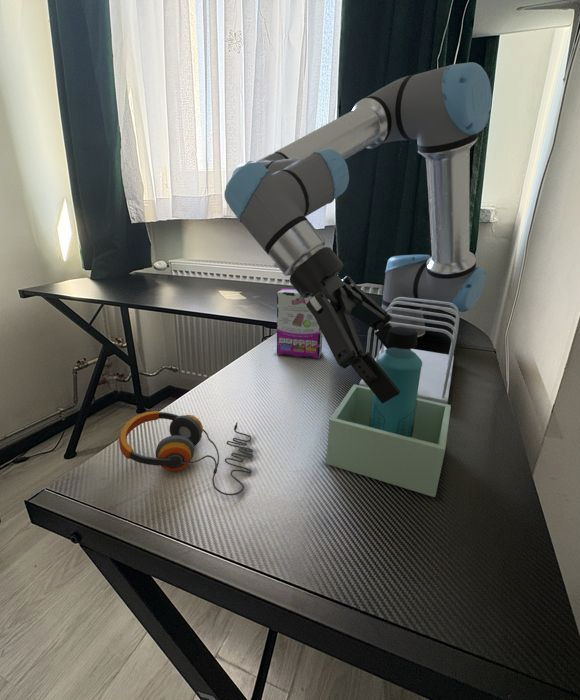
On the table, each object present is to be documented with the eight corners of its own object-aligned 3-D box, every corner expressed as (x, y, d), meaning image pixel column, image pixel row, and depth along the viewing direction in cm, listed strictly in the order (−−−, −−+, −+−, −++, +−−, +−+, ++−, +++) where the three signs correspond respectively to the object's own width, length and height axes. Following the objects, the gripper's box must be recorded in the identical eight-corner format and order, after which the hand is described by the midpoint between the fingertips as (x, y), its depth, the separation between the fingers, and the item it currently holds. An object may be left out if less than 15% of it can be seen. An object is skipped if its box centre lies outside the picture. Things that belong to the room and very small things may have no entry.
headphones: (250, 483, 49) (95, 448, 47) (242, 514, 50) (93, 481, 49) (263, 415, 64) (147, 387, 63) (256, 440, 66) (143, 414, 65)
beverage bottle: (414, 464, 56) (436, 338, 48) (369, 463, 56) (384, 336, 48) (402, 438, 62) (421, 322, 54) (362, 437, 62) (375, 321, 54)
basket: (350, 422, 67) (353, 384, 64) (442, 446, 61) (451, 405, 58) (326, 464, 57) (329, 419, 54) (435, 497, 51) (445, 449, 48)
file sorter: (382, 351, 100) (389, 293, 94) (452, 363, 94) (464, 302, 88) (358, 390, 79) (365, 319, 73) (446, 409, 72) (462, 333, 67)
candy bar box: (321, 352, 98) (325, 290, 92) (319, 359, 94) (323, 294, 88) (280, 348, 100) (281, 287, 94) (275, 355, 96) (276, 291, 90)
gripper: (319, 266, 67) (394, 359, 67) (247, 296, 45) (357, 432, 45) (350, 237, 63) (431, 336, 63) (287, 254, 41) (408, 404, 41)
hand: (400, 377), depth 54 cm, fingers open, 13 cm apart
